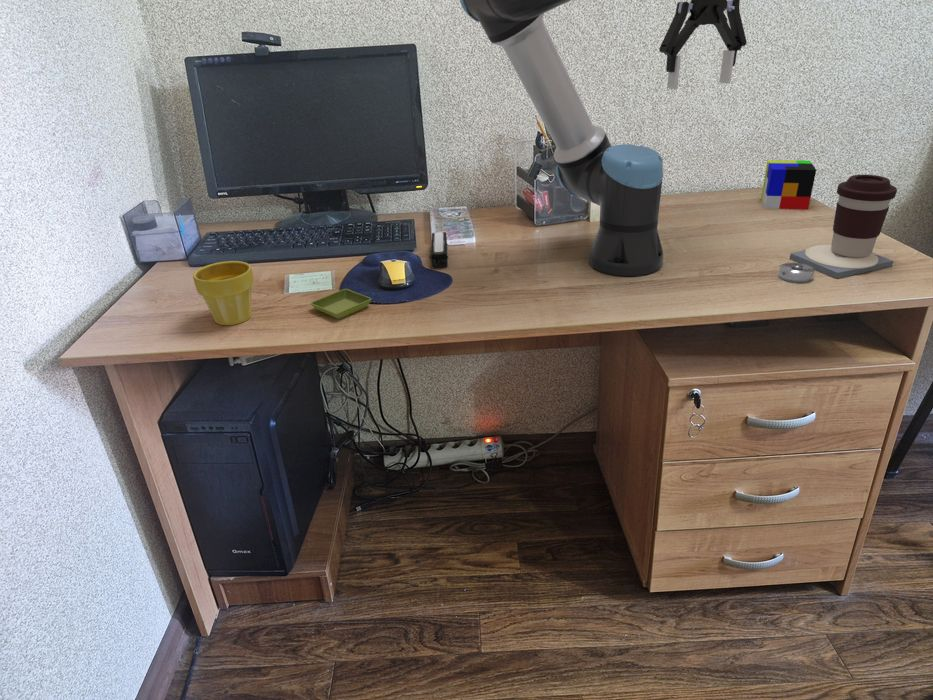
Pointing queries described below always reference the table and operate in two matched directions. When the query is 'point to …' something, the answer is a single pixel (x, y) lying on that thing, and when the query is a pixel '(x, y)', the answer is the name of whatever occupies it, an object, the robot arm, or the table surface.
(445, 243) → the white-topped black block
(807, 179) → the puzzle toy
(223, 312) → the plant pot
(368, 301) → the green rectangular tray
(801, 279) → the grey rounded disc
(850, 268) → the disc case
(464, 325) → the table surface
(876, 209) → the coffee cup
